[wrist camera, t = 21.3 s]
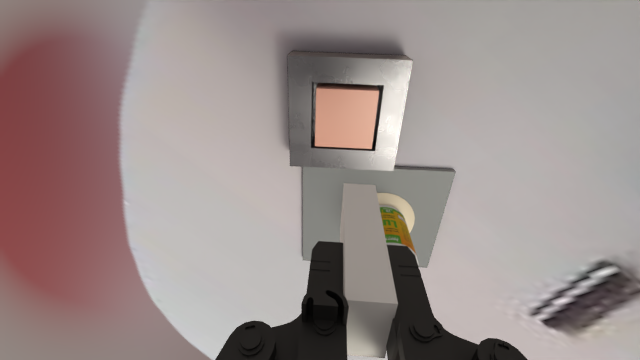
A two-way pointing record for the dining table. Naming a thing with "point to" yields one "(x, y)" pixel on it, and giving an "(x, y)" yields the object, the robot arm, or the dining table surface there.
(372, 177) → the slate board
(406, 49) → the dining table surface
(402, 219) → the supplement bottle
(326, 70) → the button housing
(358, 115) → the button
